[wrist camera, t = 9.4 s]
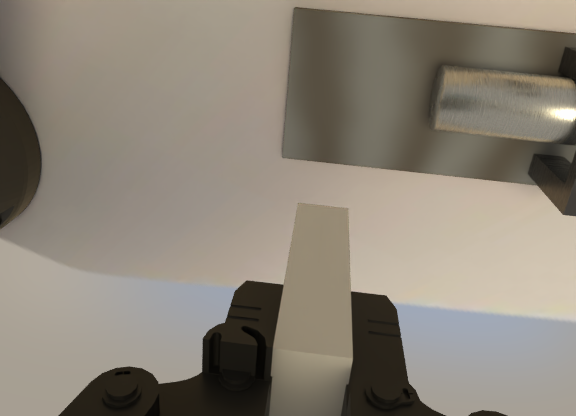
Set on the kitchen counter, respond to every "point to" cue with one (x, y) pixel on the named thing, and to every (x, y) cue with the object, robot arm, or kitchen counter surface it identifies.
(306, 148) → the board
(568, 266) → the kitchen counter surface
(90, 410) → the robot arm
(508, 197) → the kitchen counter surface
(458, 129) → the tube
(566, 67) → the collar
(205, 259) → the kitchen counter surface
